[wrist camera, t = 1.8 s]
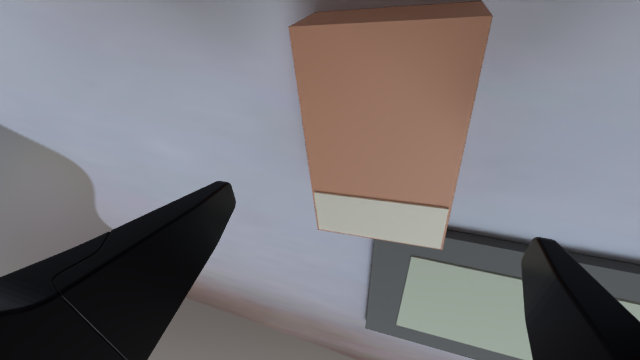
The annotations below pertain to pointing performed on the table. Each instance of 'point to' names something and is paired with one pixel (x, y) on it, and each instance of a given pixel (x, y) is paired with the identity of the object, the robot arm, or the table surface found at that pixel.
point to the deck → (388, 114)
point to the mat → (469, 294)
